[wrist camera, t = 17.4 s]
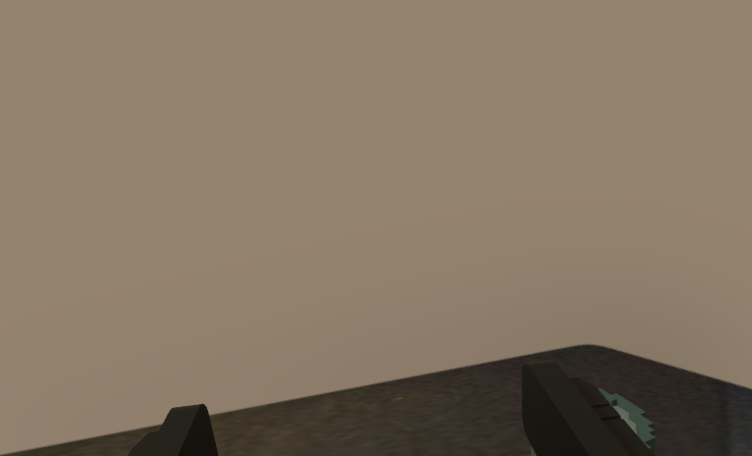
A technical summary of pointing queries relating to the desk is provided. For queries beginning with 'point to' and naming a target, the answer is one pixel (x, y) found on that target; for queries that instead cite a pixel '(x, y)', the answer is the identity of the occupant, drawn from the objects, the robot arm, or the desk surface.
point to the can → (630, 419)
